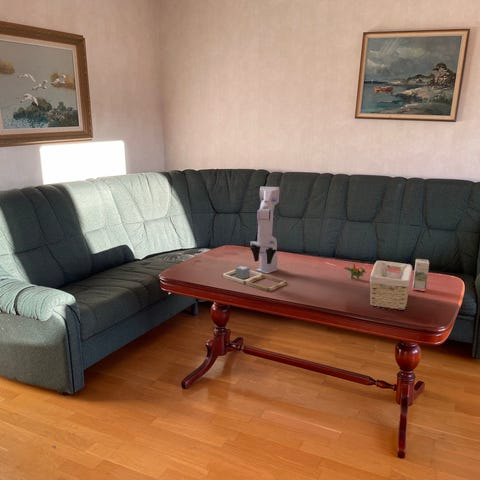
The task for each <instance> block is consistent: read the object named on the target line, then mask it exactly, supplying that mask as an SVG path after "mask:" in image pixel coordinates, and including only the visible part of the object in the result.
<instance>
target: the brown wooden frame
mask: <svg viewBox="0 0 480 480" xmlns="http://www.w3.org/2000/svg"><path fill="white" fill-rule="evenodd" d="M261 274H262V275H260V276H257V277H255V278H252V279H249V278H248V279H249V280H247V281H245V284H244V285H246V286H248V287H252V288H255V289H259V290H261V291H265V292H268V293H269V292H271V291H274V290H276V289H279V288H281V287H284V286H286V285H287V284H288V280H285V279H281V278H278V277H275V276H271V275H269V274H266V273H265V274H263V273H261ZM261 279H267V280H270V281H274V282H277V284H274V285H272V286H270V287H266V286H263V285H260V284H258V283H257V284H256V283H254V282H255V281H259V280H261Z"/></svg>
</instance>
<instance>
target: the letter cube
mask: <svg viewBox="0 0 480 480" xmlns="http://www.w3.org/2000/svg"><path fill="white" fill-rule="evenodd" d="M235 270H236V272H235V273H234V274H235V278H238V279H241V280H246V279H249V278H250V273H249V272H250V267H249V266H246V265H240V266H237V267H235Z"/></svg>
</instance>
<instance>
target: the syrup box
mask: <svg viewBox="0 0 480 480" xmlns="http://www.w3.org/2000/svg"><path fill="white" fill-rule="evenodd" d="M414 264H415V265H414V272H413V279H412V289H413V288H416V289H426V290H427V283H428V276H429V269H430V267H429V266H430V261H429V259H421V258H416V259H415V263H414Z"/></svg>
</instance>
